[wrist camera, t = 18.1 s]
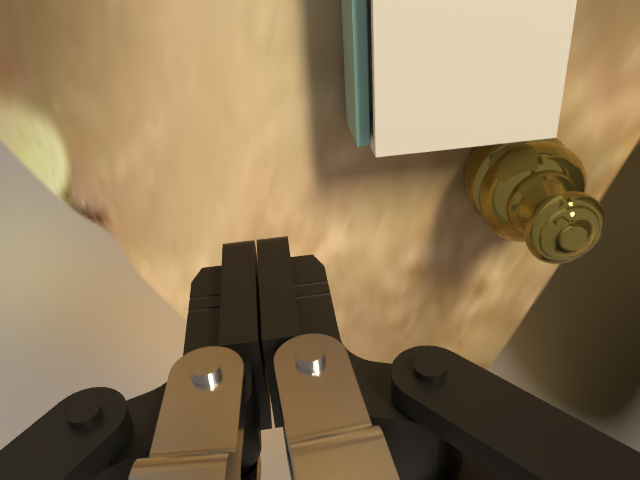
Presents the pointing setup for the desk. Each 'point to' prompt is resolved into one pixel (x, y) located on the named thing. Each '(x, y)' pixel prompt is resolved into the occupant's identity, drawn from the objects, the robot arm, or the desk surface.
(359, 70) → the tray
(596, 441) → the robot arm
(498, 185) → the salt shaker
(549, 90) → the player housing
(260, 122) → the desk surface
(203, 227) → the desk surface
